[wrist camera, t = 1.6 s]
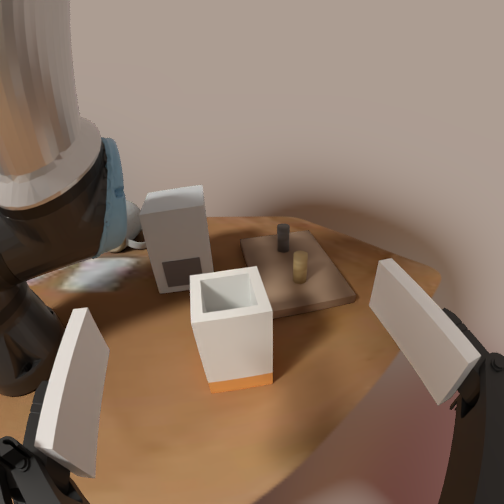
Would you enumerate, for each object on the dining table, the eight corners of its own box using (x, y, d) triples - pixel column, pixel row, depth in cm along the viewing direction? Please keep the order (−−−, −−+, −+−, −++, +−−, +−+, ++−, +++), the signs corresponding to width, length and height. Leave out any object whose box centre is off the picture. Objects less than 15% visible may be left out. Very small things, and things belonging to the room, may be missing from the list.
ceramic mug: (97, 254, 49) (86, 218, 45) (117, 233, 56) (108, 199, 52) (145, 257, 48) (135, 216, 44) (161, 234, 55) (155, 197, 51)
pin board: (263, 320, 34) (262, 286, 31) (240, 245, 49) (238, 217, 47) (354, 302, 36) (361, 268, 33) (308, 236, 51) (309, 209, 48)
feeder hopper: (159, 294, 39) (138, 215, 33) (163, 262, 46) (148, 193, 40) (215, 286, 40) (204, 205, 34) (211, 255, 47) (202, 184, 41)
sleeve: (211, 393, 26) (191, 323, 20) (206, 348, 31) (189, 275, 25) (272, 383, 26) (272, 310, 21) (260, 340, 31) (256, 266, 26)
